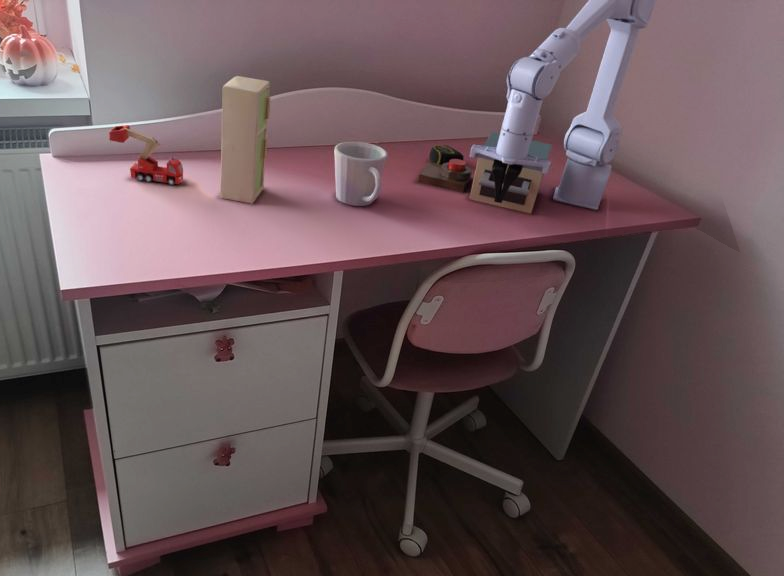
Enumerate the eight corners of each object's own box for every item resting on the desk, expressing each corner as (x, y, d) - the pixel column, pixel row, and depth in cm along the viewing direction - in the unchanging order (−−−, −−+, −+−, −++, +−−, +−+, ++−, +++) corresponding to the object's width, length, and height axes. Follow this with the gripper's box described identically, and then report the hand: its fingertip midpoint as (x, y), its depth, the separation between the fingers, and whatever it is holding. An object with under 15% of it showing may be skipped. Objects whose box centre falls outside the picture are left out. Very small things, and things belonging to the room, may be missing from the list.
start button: (465, 168, 147) (467, 161, 146) (462, 174, 145) (464, 166, 144) (449, 165, 148) (451, 157, 147) (446, 170, 145) (448, 162, 144)
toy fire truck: (180, 186, 131) (179, 138, 126) (112, 177, 132) (108, 128, 126) (185, 180, 134) (184, 132, 129) (118, 171, 134) (114, 123, 129)
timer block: (471, 180, 151) (474, 164, 149) (463, 193, 144) (467, 177, 142) (427, 170, 153) (430, 155, 151) (417, 182, 146) (420, 167, 144)
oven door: (527, 224, 136) (541, 178, 128) (465, 209, 139) (474, 163, 131) (532, 209, 139) (545, 164, 131) (470, 195, 142) (480, 150, 134)
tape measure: (462, 168, 156) (466, 153, 154) (439, 171, 153) (442, 155, 151) (445, 158, 161) (448, 143, 159) (422, 160, 158) (425, 144, 156)
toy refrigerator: (256, 205, 128) (262, 91, 116) (219, 198, 129) (221, 85, 117) (267, 190, 134) (273, 81, 122) (232, 183, 135) (235, 75, 123)
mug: (367, 187, 141) (374, 140, 135) (398, 217, 130) (407, 167, 124) (321, 189, 137) (326, 141, 131) (349, 221, 126) (356, 170, 121)
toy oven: (531, 210, 140) (547, 159, 133) (470, 196, 143) (483, 145, 136) (537, 193, 148) (552, 144, 142) (479, 180, 151) (491, 131, 145)
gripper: (474, 127, 119) (457, 198, 127) (556, 144, 116) (534, 217, 124) (480, 117, 125) (464, 187, 133) (559, 134, 122) (538, 204, 129)
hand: (498, 200), depth 129 cm, fingers closed
